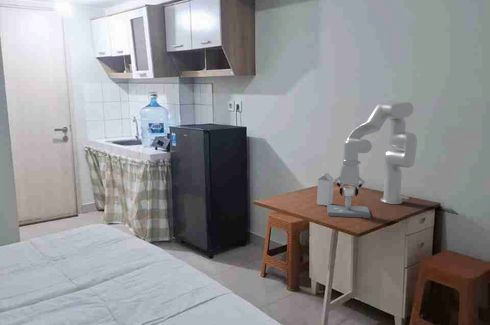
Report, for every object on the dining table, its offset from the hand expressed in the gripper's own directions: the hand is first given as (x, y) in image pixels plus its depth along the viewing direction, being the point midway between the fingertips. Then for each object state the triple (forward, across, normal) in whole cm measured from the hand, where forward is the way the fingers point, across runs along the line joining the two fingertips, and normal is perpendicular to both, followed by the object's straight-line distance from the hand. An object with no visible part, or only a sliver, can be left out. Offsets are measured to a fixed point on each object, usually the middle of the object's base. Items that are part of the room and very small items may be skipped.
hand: (348, 195), depth 232 cm
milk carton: (+10, +12, -16) cm, 22 cm away
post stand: (+10, 0, 0) cm, 10 cm away
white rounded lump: (0, 0, 0) cm, 0 cm away
